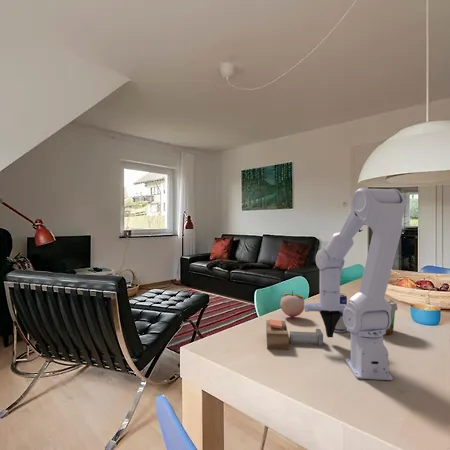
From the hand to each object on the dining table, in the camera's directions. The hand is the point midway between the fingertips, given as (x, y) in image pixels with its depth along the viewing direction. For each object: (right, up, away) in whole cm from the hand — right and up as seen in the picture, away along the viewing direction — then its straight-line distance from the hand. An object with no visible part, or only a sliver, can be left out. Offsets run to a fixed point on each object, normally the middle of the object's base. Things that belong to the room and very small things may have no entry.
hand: (329, 336), depth 89 cm
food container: (+21, -2, +9) cm, 22 cm away
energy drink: (+7, -2, +11) cm, 13 cm away
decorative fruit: (-6, -2, +25) cm, 25 cm away
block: (-15, -2, +2) cm, 16 cm away
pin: (-8, -2, +1) cm, 8 cm away
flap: (-13, +3, +2) cm, 14 cm away
